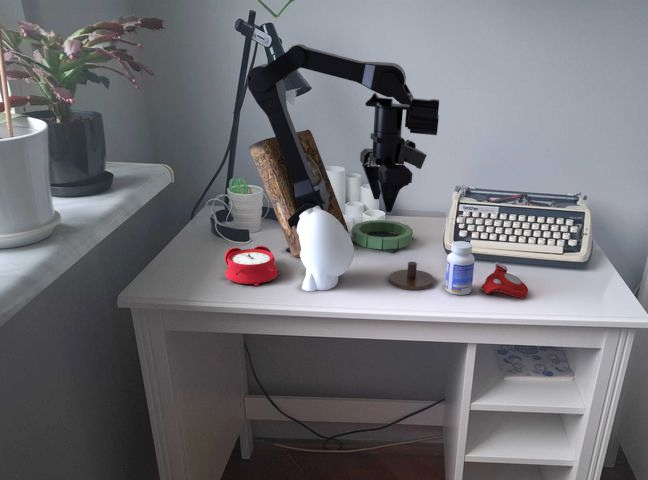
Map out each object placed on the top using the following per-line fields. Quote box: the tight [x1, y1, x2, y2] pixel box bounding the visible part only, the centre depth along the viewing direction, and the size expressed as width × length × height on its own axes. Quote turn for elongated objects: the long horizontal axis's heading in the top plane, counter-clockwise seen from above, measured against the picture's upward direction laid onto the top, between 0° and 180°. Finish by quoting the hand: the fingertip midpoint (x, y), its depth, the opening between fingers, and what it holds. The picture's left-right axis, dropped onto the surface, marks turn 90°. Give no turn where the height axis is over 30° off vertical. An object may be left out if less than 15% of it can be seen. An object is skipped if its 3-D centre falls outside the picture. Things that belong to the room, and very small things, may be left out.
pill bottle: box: [444, 240, 476, 296], centre depth 125 cm, size 5×5×10 cm
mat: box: [352, 231, 415, 254], centre depth 150 cm, size 11×11×1 cm
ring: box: [351, 219, 414, 250], centre depth 150 cm, size 14×14×2 cm
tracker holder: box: [480, 261, 529, 299], centre depth 128 cm, size 12×4×10 cm
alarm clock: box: [224, 245, 279, 287], centre depth 129 cm, size 10×6×15 cm
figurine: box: [297, 206, 355, 292], centre depth 125 cm, size 11×11×15 cm
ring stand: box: [388, 261, 435, 291], centre depth 129 cm, size 9×9×4 cm
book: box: [248, 129, 349, 258], centre depth 141 cm, size 16×6×25 cm, turn 150°
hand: (382, 205), depth 137 cm, fingers open, 9 cm apart
